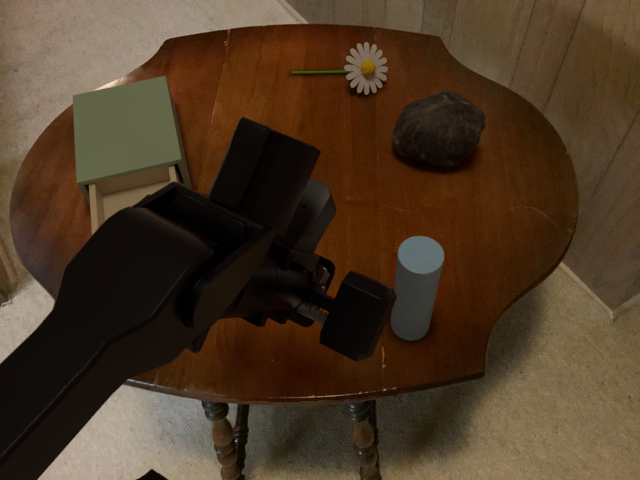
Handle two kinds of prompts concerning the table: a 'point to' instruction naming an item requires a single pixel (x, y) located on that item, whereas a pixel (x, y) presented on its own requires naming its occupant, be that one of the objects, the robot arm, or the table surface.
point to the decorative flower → (361, 68)
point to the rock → (439, 129)
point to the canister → (416, 286)
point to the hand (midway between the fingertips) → (313, 280)
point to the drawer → (126, 192)
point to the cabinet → (126, 132)
